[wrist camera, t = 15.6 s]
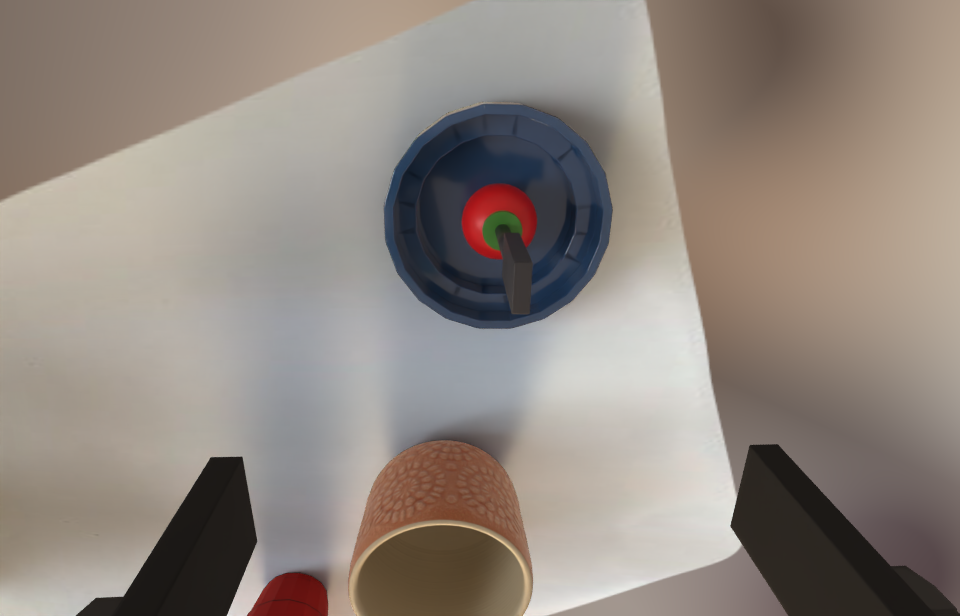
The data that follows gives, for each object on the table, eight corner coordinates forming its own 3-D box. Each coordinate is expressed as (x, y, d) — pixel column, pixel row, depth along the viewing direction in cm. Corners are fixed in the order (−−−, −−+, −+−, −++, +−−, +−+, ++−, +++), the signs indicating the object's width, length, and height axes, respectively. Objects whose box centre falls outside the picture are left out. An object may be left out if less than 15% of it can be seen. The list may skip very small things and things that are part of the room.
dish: (394, 305, 40) (388, 328, 37) (386, 99, 35) (379, 100, 31) (585, 307, 41) (598, 329, 37) (607, 104, 36) (624, 107, 32)
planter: (395, 401, 43) (378, 497, 33) (539, 443, 46) (564, 546, 35) (351, 517, 48) (324, 634, 38) (485, 551, 50) (493, 671, 40)
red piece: (460, 246, 38) (465, 339, 24) (461, 176, 37) (467, 233, 23) (529, 247, 39) (572, 339, 25) (533, 177, 37) (582, 235, 23)
